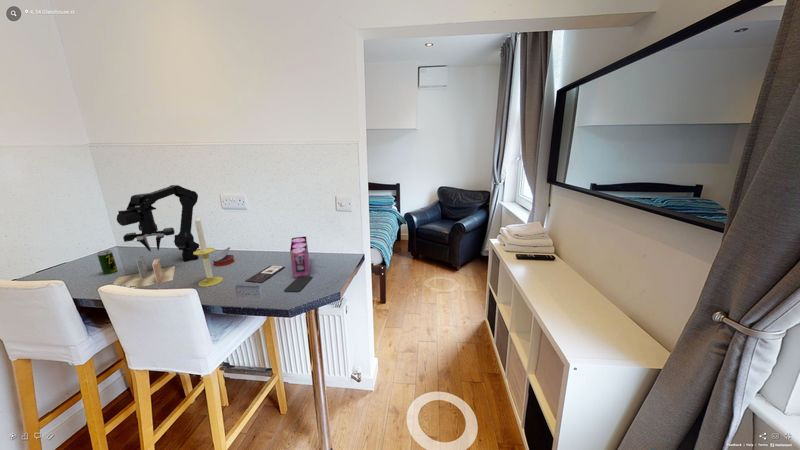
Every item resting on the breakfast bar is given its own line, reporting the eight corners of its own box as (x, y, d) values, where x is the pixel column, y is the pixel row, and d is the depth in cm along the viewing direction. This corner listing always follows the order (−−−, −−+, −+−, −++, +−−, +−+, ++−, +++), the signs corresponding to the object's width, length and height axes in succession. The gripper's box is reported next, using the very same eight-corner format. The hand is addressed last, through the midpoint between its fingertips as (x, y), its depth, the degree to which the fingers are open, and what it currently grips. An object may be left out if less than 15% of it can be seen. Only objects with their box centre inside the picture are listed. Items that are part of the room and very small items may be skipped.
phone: (313, 276, 137) (299, 291, 122) (313, 278, 137) (299, 293, 122) (298, 276, 137) (282, 290, 123) (298, 277, 138) (283, 292, 123)
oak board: (175, 266, 154) (175, 266, 154) (172, 280, 137) (172, 280, 137) (117, 278, 141) (117, 277, 141) (106, 295, 124) (106, 294, 124)
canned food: (230, 272, 156) (224, 260, 149) (212, 271, 156) (205, 259, 149) (240, 256, 164) (234, 245, 157) (223, 255, 164) (216, 243, 157)
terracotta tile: (163, 275, 142) (159, 258, 139) (161, 281, 135) (157, 263, 133) (158, 276, 141) (154, 259, 138) (156, 282, 134) (152, 264, 132)
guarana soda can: (100, 276, 144) (93, 254, 141) (108, 272, 149) (101, 250, 146) (113, 275, 145) (106, 252, 142) (120, 270, 150) (114, 249, 147)
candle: (207, 277, 140) (193, 212, 131) (227, 277, 139) (214, 211, 131) (192, 287, 130) (176, 217, 121) (214, 286, 129) (199, 216, 121)
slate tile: (148, 272, 147) (143, 255, 144) (145, 277, 140) (141, 260, 138) (143, 272, 146) (138, 256, 143) (141, 278, 139) (136, 261, 137)
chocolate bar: (245, 280, 134) (270, 265, 151) (245, 282, 134) (270, 267, 151) (261, 282, 132) (285, 266, 149) (262, 284, 132) (285, 268, 149)
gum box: (310, 276, 137) (307, 250, 134) (292, 279, 135) (289, 252, 131) (309, 259, 159) (306, 236, 156) (294, 261, 157) (291, 237, 154)
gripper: (171, 214, 151) (178, 242, 155) (124, 220, 141) (132, 250, 145) (170, 218, 142) (177, 248, 146) (119, 224, 132) (128, 256, 136)
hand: (154, 250), depth 143 cm, fingers open, 3 cm apart
